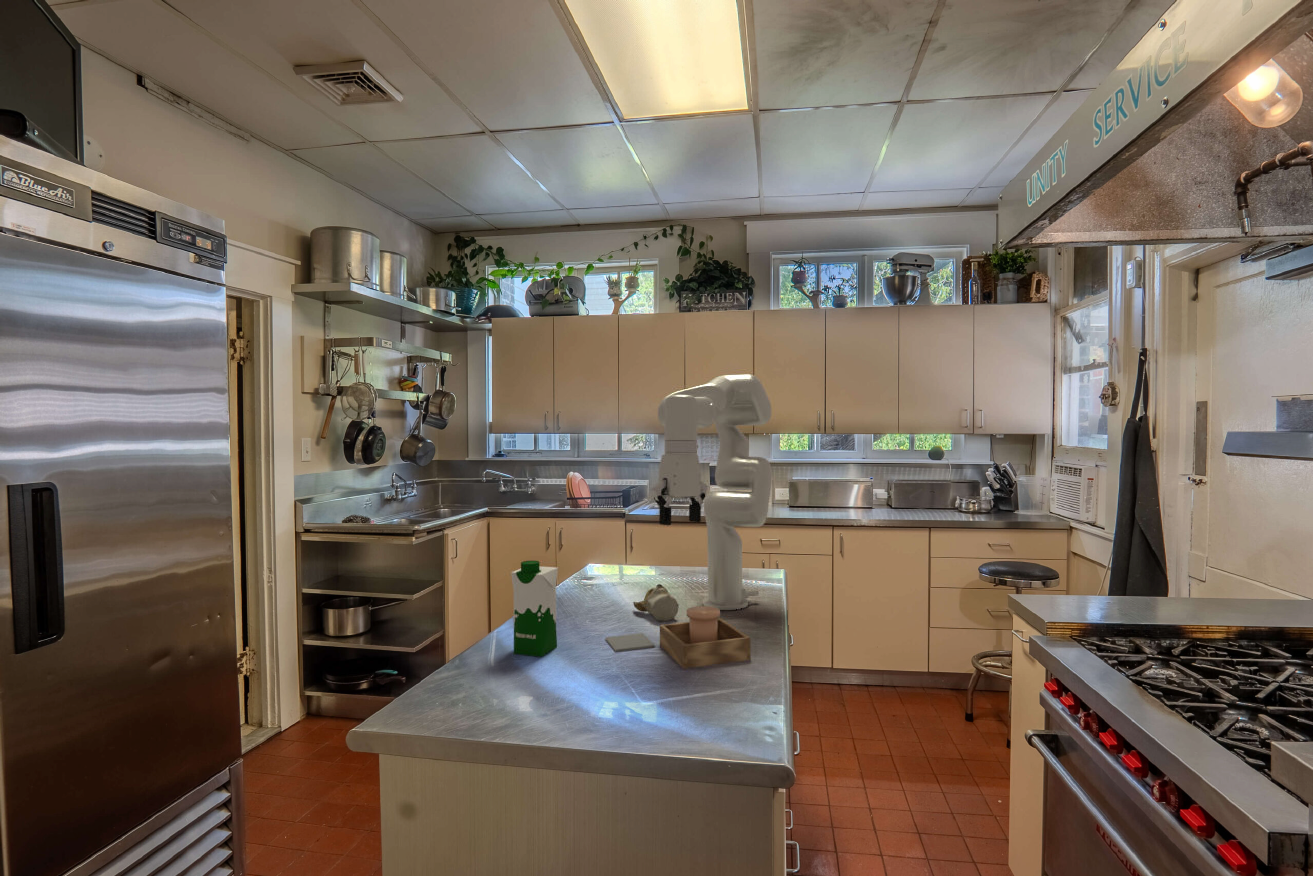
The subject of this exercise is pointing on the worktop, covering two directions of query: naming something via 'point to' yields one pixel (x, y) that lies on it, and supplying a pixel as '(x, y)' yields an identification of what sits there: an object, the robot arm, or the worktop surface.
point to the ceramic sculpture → (658, 604)
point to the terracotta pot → (703, 623)
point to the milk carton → (534, 609)
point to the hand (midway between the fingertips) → (680, 523)
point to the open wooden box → (705, 645)
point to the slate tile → (629, 642)
